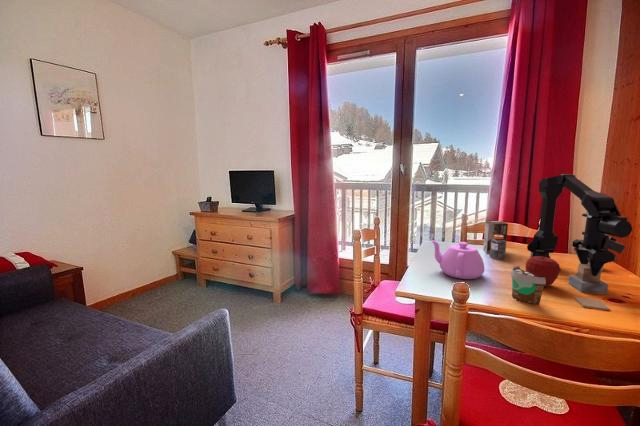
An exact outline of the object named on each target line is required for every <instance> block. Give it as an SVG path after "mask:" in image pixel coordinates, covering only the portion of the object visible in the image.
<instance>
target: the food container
mask: <svg viewBox="0 0 640 426" xmlns="http://www.w3.org/2000/svg"><path fill="white" fill-rule="evenodd" d="M520 267H521V266H520V265H515V266H513V267H512V268H511V271H510V273H509V275H510V276H511V296H512V298H513V300H515V299H516V300H515V301H517V302H519V301H520V302H519V303H522V304H524V305H525V304H526V305H530V306H540V304H541V299H542V295H543V290H544V287H545V286H544V284H546V280H545V278H540V277H537V276H535V275H534V274H532V273H530V272H527V271H526V270H524V269H522V268H520ZM543 286H544V287H543Z"/></svg>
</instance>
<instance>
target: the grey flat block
mask: <svg viewBox="0 0 640 426" xmlns="http://www.w3.org/2000/svg"><path fill="white" fill-rule="evenodd" d="M567 282H568V284H567V285H569V286H570V287H572V288H574V289H575V290H577V291H578V292H580V293H584V294H585V293H586V294H600V295H607V293H608V289H609V284H608V283H607V282H605V281H603V280H601V279H600V283H598V282H589V281H582V280H581V279H580V278H579V277H577V274H569V275H568V281H567Z"/></svg>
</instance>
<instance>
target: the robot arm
mask: <svg viewBox="0 0 640 426" xmlns="http://www.w3.org/2000/svg"><path fill="white" fill-rule="evenodd" d="M564 188H566V189H567V190H568V191H570V192H571V193H572V194H573V195H575V196H576V197H577V198H579V200H580V201H581V202H580V204H581V206H582V207H583V208H584V210H585V211H586V212H583V213H582V214H581V216H582V217H585V218H586V219H585V225H584V226H585V227H584V231H582V232H581V235H583V239H578V238H577V239H574V240H572V244H571V245H572V247H573V249H574V251H575V254H576V256H577V258H578V260H579V264H588V262H589V266H590V270H591V273H592V276H597V274H598V273H599V271H600V270H601V268H602V267H603V268H604V266H603V265H606V264H608V263H612V262H616V260H617V255H616V254H615V253H614V252H616V253H617V254H620V255H621V254H623V252H624V251H625V249H626V247H627V245H625V244H623V243H621V242H619V241H617V238H620V239H623V238H627V237H628V236H629V235H630V234H632V231H633V227H632V224H631V222H630V221H628V217H627V216H622V215H621V212H620V211H619V209H618V206H617V204H616V203H615V199H614V198H613V197H612V196H610V195H607V194H605V193H604V192H603V193H601V192H599V191H595V190H593V188H591V187H590V186H588V185H587V184H585V182H583V181H581V180H579V179H578V178H577V177H576V175H575V174H572V173H562V174H559V175H558V174H557V175H555V176H551V177H543V178H541V180H539V183H538V193H539V194H540V196H541V198H542V201H541V209H540V218H539V226H538V230H537V231H536V232H535V233H534V235H533V237H532V241H531V242H529V243H528V244H527V245H526V248H527V251H529V252H530V255H529V256H530V257H529V258H531V257H534V256H542V257H543V256H544V257H547V258H551V256H550V254H554V252H555V250H556V248H557V246H558V240H559V237H558V235H556V234H555V233H554V224H555V223H554V222H555V218H556V217H555V216H556V215H555V214H556V207H557V201H558V198H559V196H561V195H562V193H563V190H564ZM612 236H613V237H612ZM615 237H616V238H615ZM610 250H611V251H610ZM612 251H614V252H612Z"/></svg>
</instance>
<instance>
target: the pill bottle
mask: <svg viewBox="0 0 640 426" xmlns="http://www.w3.org/2000/svg"><path fill="white" fill-rule="evenodd" d="M503 239H504V236H502V235H494V239H492V241H491V253H489V254H490V255H489V257H490V258H492V259H494V260H503V259H504V258H505V254H504V252H505V241H504V240H503Z"/></svg>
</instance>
